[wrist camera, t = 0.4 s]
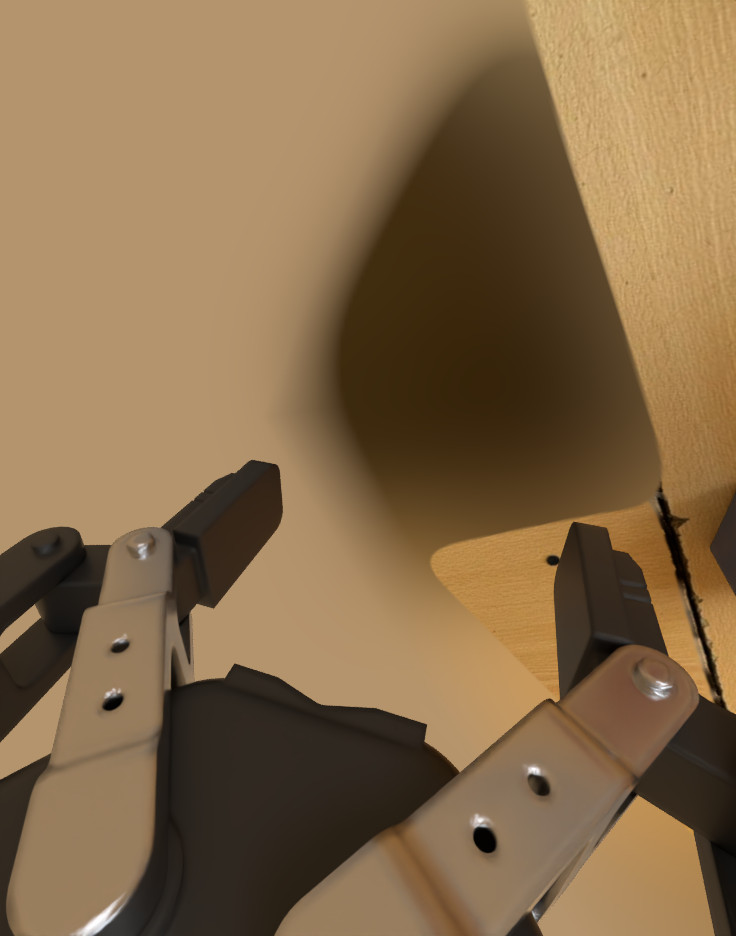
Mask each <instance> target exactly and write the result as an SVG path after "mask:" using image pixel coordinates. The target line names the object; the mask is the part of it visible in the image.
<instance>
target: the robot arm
mask: <svg viewBox="0 0 736 936" xmlns="http://www.w3.org/2000/svg"><path fill="white" fill-rule="evenodd" d="M282 513H283V506H282V493H281V481H280V470H279V468H278V466H277V465H276V464H271V463H266V462H261V461H255V460H251V461H249V462H248V463H246V464H245V465H244V466H243V467H242V468H241V469H240V470H239V471H237V473H231V474H229V475H226V476H225V477H222V478H220V479H218V480H216V481H214V482H213V483H212V484H211V485H210V486H209V487H207V488H206V489H205V490H204V493H203V492H202V493H200V494H199V495H198V496H197V497H196V498H195V500H194V501H191V502H190V503H189V504H188V505H186V506H185V507H184V508H183V509H182V510H181V511H179V512H178V513H177V514H176V515H175V516H174V517H172V518H171V519H170V520H169V521H168V522H167V523H166V524H164V525H163V526H162V527H161V528H157V527H147V528H141V529H137V530H134V531H131V532H129V533H126V534H125V535H123V536H121V537H120V538H118V539H117V540H116V541H115V542H114V543H113V544H112V545H84V544H83V541H82V538H81V536H80V533H79V532H78V531H77V530H76V529H74V528H70V527H54V528H49V529H45V530H41V531H38V532H36V533H34V534H32V535H29V536H28V537H26V538H24V539H23V540H21V541H20V542H18V543H17V544H15V545H14V546H13V547H11V548H10V549H8V550H7V551H5V552H4V553H2V554H1V555H0V636H1V634H2V633H3V632H4V630H5V629H6V628H7V627H8V626H10V625H11V624H12V623H13V622H14V621H16V620H17V619H18V618H19V617H20V616H21V615H23V614H24V613H25V612H26V611H27V610H28V609H29V608H30V607H32V606H33V605H34V604H35V605H36V608H37V609H38V612H39V614H40V616H41V618H40V619H39V620H38V621H37V622H35V623H34V624H33V625H32V626H31V627H30V628H29V629H28V630H27V631H26V632H24V633H23V634H22V635H21V636H20V637H19V638H18V639H16V640H15V641H14V642H13V643H12V644H11V645H10V646H9V647H8V648H6V649H5V650H4V651H3V652H2V653H1V654H0V742H1V741H2V740H3V739H4V738H5V737H6V736H7V735H8V734H9V732H10V731H11V730H12V729H13V728H14V727H15V726H16V725H17V724H18V723H19V722H20V721H21V720H22V718H23V717H24V716H25V715H26V714H27V713H28V712H29V711H30V710H31V709H32V708H33V707H34V705H35V704H36V703H37V702H38V701H39V700H40V699H41V698H42V697H43V696H44V695H45V694H46V693H47V692H48V691H49V689H50V688H51V687H52V686H53V685H54V684H55V683H56V682H57V681H58V680H59V679H60V678H61V677H62V676H63V674H64V673H65V672H66V671H67V670H68V669H69V668H70V667H71V670H70V674H69V679H68V683H67V687H66V692H65V696H64V700H63V705H62V709H61V714H60V718H59V722H58V727H57V731H56V735H55V740H54V744H53V749H52V753H50V754H49V755H47V756H45V757H43V758H41V759H39V760H37V761H35V762H33V763H31V764H30V765H28V766H26V767H24V768H22V769H20V770H18V771H16V772H14V773H12V774H10V775H9V776H7V777H5V778H3V779H1V780H0V936H543V935H542V933H541V931H540V928H539V926H538V924H539V923H540V921H541V920H542V919H543V918H544V917H545V915H546V914H547V913H548V911H549V910H550V909H551V907H552V906H553V905H554V904H555V903H556V901H557V900H558V899H559V897H560V896H561V895H562V894H563V892H564V891H565V890H566V888H567V887H568V886H569V884H570V883H571V881H572V880H573V879H574V877H575V876H576V875H577V873H578V871H579V870H580V869H581V868H582V866H583V865H584V863H585V862H586V861H587V860H588V858H589V857H590V856H591V854H592V853H593V852H594V850H595V849H596V848H597V847H598V846H599V844H600V843H601V842H602V840H603V839H604V838H605V837H606V835H607V834H608V833H609V832H610V830H611V829H612V828H613V827H614V825H615V824H616V822H618V820H619V819H620V818H621V817H622V815H623V814H624V813H625V811H626V810H627V809H628V808H629V806H630V805H631V804H632V802H633V801H634V800H635V799H636V797H637V796H638V795H639V796H640V797H642V798H644V799H645V800H647V801H648V802H650V803H651V804H653V805H655V806H656V807H658V808H659V809H661V810H663V811H664V812H666V813H667V814H669V815H671V816H672V817H674V818H675V819H677V820H678V821H680V822H681V823H683V824H685V825H686V826H688V827H689V828H691V829H693V831H694V836H695V841H696V846H697V851H698V856H699V860H700V865H701V870H702V875H703V879H704V885H705V890H706V895H707V899H708V904H709V909H710V914H711V919H712V923H713V928H714V933H715V936H736V714H734V713H732V712H730V711H728V710H726V709H724V708H722V707H720V706H718V705H716V704H714V703H712V702H711V701H709V700H707V699H706V698H704V697H703V696H701V695H700V694H699V693H698V689H697V687H696V685H695V683H694V681H693V679H692V678H691V676H690V675H689V674H688V673H687V672H686V671H685V669H684V668H682V667H681V666H680V665H679V664H678V663H677V662H675V661H674V660H673V659H671V658H670V657H669V656H668V653H667V649H666V646H665V643H664V640H663V636H662V633H661V630H660V627H659V624H658V620H657V617H656V614H655V611H654V607H653V604H651V598H650V594H649V591H648V590H647V585H646V581H645V578H644V575H643V572H642V569H641V568H640V567H639V566H638V564H637V563H636V562H635V561H634V560H633V559H632V558H631V556H630V555H629V554H628V553H625V552H620V551H615V550H613V549H612V545H611V541H610V537H609V533H608V530H607V528H605V527H600V526H594V525H589V524H584V523H578V522H573V523H572V525H571V527H570V529H569V533H568V536H567V539H566V542H565V545H564V548H563V552H562V555H561V558H560V561H559V564H558V567H557V571H556V576H555V582H554V605H555V622H556V639H557V655H558V672H559V689H560V700H559V701H558V702H556V703H555V702H554V701H553V700H552V699H546V700H544V701H543V702H541V703H540V704H539V705H537V706H536V707H535V708H534V709H533V710H532V711H530V712H529V713H528V714H527V715H526V716H525V717H524V718H522V719H521V720H520V721H519V722H518V723H517V724H516V725H514V726H513V727H512V728H511V729H510V730H509V731H507V732H506V733H505V734H504V735H503V736H502V737H500V738H499V739H498V740H497V741H496V742H495V743H494V744H492V745H491V746H490V747H489V748H488V749H487V750H485V751H484V752H483V753H482V754H481V755H480V756H479V757H477V758H476V759H475V760H474V761H473V762H472V763H471V764H469V765H468V766H467V767H466V768H465V769H464V770H462V771H461V772H459V771H458V770H457V768H456V767H454V765H453V764H452V763H451V762H450V761H449V760H448V759H447V758H446V757H445V756H443V755H442V754H441V753H440V752H439V751H437V750H436V749H435V748H433V747H432V746H430V745H429V744H427V743H426V742H424V740H425V734H426V728H427V724H424V723H421V722H417V721H414V720H411V719H408V718H405V717H402V716H398V715H395V714H392V713H389V712H386V711H383V710H380V709H377V708H362V707H344V706H326V705H321V704H318V703H316V702H315V701H313V700H312V699H310V698H309V697H307V696H305V695H304V694H302V693H301V692H299V691H298V690H296V689H295V688H293V687H292V686H290V685H289V684H287V683H286V682H284V681H283V680H281V679H280V678H278V677H275V676H272V675H269V674H266V673H263V672H260V671H257V670H253V669H250V668H247V667H244V666H241V665H238V664H234V665H233V667H232V668H231V670H230V671H229V673H228V674H227V676H226V678H218V679H207V680H202V681H196V682H195V680H194V661H193V630H192V616H191V610H192V609H193V608H194V607H195V605H196V604H200V605H203V606H207V607H210V608H215V606H216V605H217V604H218V602H219V601H220V600H221V599H222V597H223V596H224V595H225V594H226V592H227V591H228V590H229V589H230V587H231V586H232V585H233V583H234V582H235V581H236V580H237V579H238V577H239V576H240V575H241V574H242V572H243V571H244V570H245V569H246V567H247V566H248V565H249V563H250V562H251V561H252V560H253V559H254V557H255V556H256V555H257V553H258V552H259V551H260V550H261V549H262V547H263V546H264V545H265V543H266V542H267V541H268V540H269V538H270V537H271V536H272V535H273V533H274V532H275V531H276V530H277V528H278V526H279V524H280V522H281V518H282Z"/></svg>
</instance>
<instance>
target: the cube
mask: <svg viewBox="0 0 736 936" xmlns="http://www.w3.org/2000/svg"><path fill="white" fill-rule="evenodd" d="M710 550H711V552H712V554H713V556H714V558H715V559H716V561H717V563H718V565H719V567H720V568H721V570H722V572H723V574H724V576H725V577H726V579H727V581H728V583H729V585H730V586H731V588H732V590H733V592H734V594H735V596H736V493H735V495H734V497H733V499H732V501H731V504H730V506H729V508H728V510H727V512H726V514H725V517H724V519H723V521H722V523H721V525H720V527H719V530H718V532H717V534H716V536H715V538H714V540H713V542H712V545H711V547H710Z"/></svg>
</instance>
